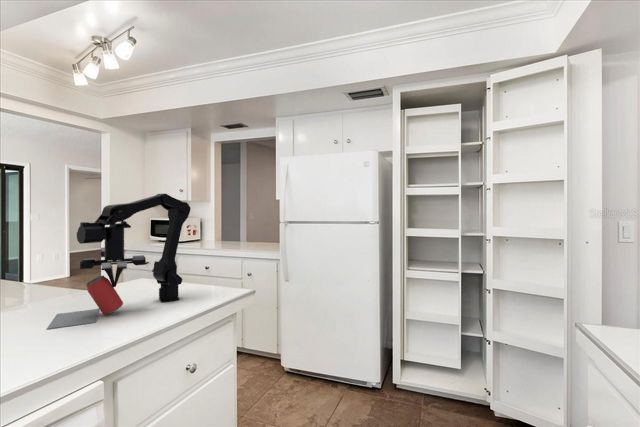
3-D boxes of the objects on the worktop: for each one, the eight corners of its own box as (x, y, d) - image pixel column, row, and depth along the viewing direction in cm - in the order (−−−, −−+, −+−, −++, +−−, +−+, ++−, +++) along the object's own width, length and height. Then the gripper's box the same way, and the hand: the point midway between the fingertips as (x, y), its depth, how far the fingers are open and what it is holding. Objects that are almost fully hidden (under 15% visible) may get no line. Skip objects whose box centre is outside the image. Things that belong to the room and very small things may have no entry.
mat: (99, 309, 117) (99, 308, 117) (95, 322, 103) (95, 321, 103) (57, 314, 111) (57, 313, 111) (46, 329, 97) (46, 328, 97)
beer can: (114, 312, 108) (94, 282, 105) (99, 317, 110) (79, 287, 107) (128, 301, 114) (109, 272, 111) (114, 305, 116) (95, 277, 113)
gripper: (144, 238, 124) (144, 280, 124) (83, 240, 114) (83, 285, 114) (145, 241, 114) (145, 285, 114) (79, 243, 105) (79, 292, 105)
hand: (114, 286), depth 112 cm, fingers closed
